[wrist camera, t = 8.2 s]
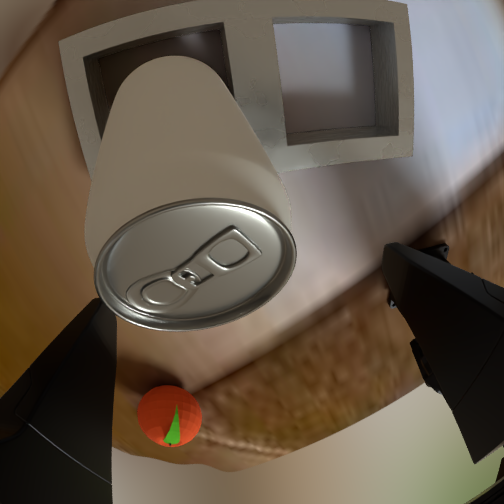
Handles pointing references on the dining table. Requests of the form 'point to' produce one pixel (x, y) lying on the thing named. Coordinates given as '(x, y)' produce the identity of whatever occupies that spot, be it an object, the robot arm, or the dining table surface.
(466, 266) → the dining table surface
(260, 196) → the can
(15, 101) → the dining table surface
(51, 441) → the robot arm
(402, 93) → the grey compartment tray
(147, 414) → the clementine
